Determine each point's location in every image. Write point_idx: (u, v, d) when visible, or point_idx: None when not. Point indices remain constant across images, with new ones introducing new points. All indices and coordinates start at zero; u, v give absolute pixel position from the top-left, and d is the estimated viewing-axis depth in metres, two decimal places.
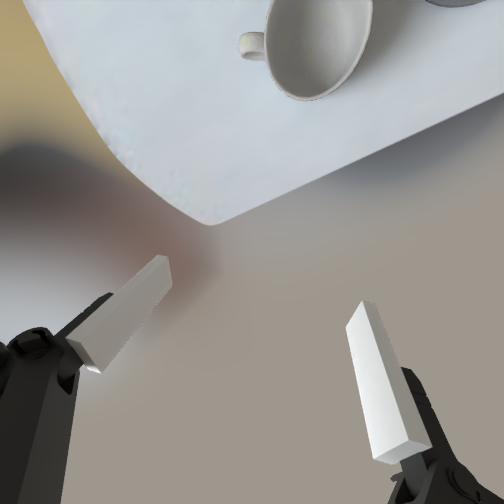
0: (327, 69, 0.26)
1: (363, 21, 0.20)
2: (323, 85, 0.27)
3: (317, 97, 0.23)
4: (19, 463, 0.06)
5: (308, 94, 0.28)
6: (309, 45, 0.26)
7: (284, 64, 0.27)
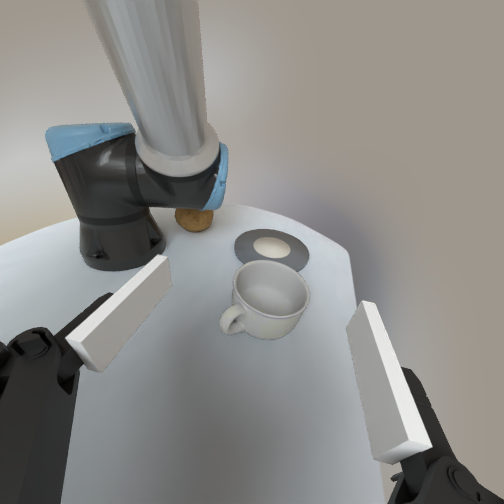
0: (281, 312, 0.32)
1: (284, 274, 0.32)
2: None
3: (306, 304, 0.26)
4: (19, 463, 0.06)
5: None
6: None
7: None
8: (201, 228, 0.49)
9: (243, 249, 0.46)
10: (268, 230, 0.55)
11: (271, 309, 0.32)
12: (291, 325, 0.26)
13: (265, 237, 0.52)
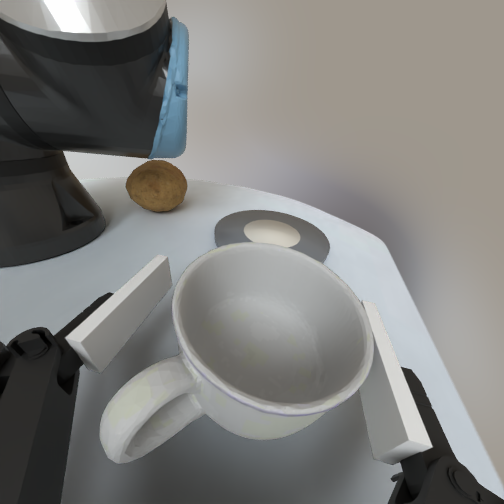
0: (292, 351, 0.16)
1: (298, 272, 0.16)
2: (309, 368, 0.14)
3: (370, 353, 0.09)
4: (19, 463, 0.06)
5: (307, 398, 0.12)
6: (245, 349, 0.15)
7: None
8: (165, 205, 0.32)
9: (227, 235, 0.29)
10: (267, 211, 0.38)
11: (272, 343, 0.16)
12: None
13: (262, 219, 0.35)
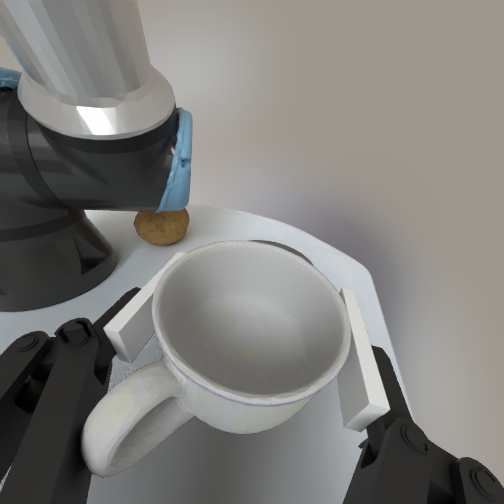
0: (277, 344, 0.16)
1: (279, 267, 0.16)
2: (295, 359, 0.15)
3: (348, 338, 0.10)
4: (57, 449, 0.06)
5: (294, 388, 0.13)
6: (231, 347, 0.15)
7: None
8: (169, 240, 0.36)
9: None
10: (262, 242, 0.42)
11: (258, 339, 0.16)
12: None
13: None
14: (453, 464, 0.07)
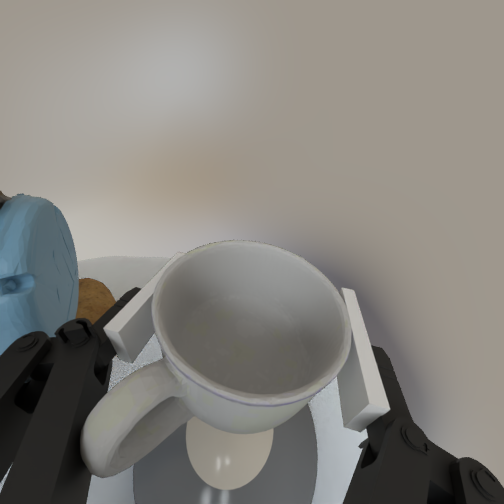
0: (278, 344, 0.16)
1: (279, 267, 0.16)
2: (295, 359, 0.15)
3: (349, 338, 0.10)
4: (57, 449, 0.06)
5: (294, 388, 0.13)
6: (231, 347, 0.15)
7: None
8: None
9: (156, 450, 0.19)
10: None
11: (258, 339, 0.16)
12: None
13: None
14: (453, 464, 0.07)
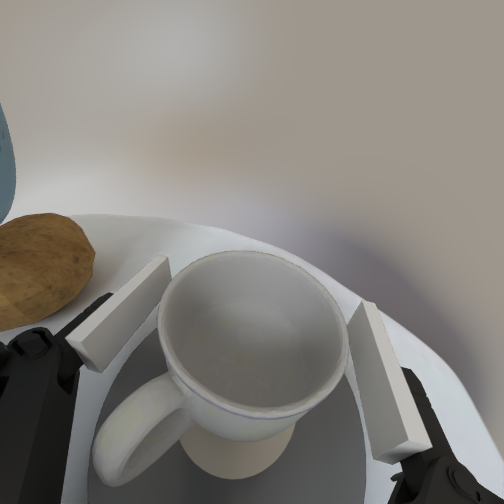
0: (277, 351, 0.16)
1: (279, 276, 0.16)
2: (294, 366, 0.15)
3: (346, 350, 0.10)
4: (19, 463, 0.06)
5: (294, 396, 0.13)
6: (233, 355, 0.16)
7: None
8: (17, 325, 0.15)
9: None
10: None
11: (258, 346, 0.17)
12: None
13: None
14: None
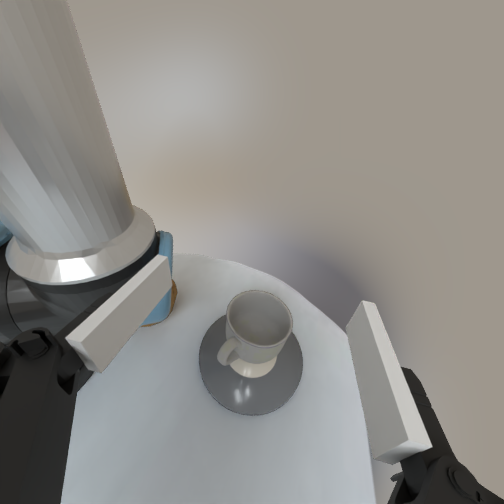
0: (269, 335, 0.37)
1: (269, 301, 0.37)
2: (276, 341, 0.35)
3: (290, 331, 0.30)
4: (19, 463, 0.06)
5: None
6: (249, 336, 0.36)
7: None
8: (156, 323, 0.36)
9: (210, 360, 0.33)
10: None
11: (260, 333, 0.37)
12: (279, 350, 0.30)
13: None
14: None
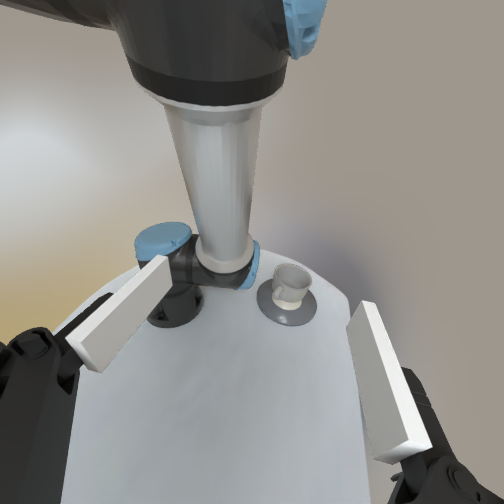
0: None
1: (296, 270, 0.61)
2: None
3: (310, 283, 0.55)
4: (19, 463, 0.06)
5: None
6: None
7: None
8: None
9: (264, 301, 0.58)
10: None
11: None
12: (304, 293, 0.55)
13: None
14: None
